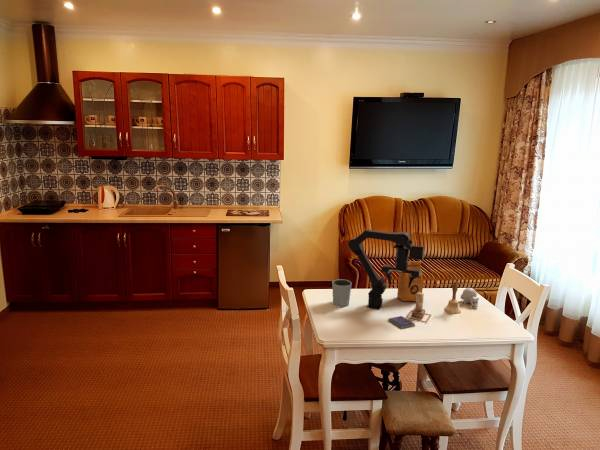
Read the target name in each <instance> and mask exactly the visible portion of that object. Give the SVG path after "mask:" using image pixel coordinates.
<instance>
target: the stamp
mask: <svg viewBox="0 0 600 450" xmlns="http://www.w3.org/2000/svg"><path fill="white" fill-rule="evenodd" d="M424 295H425V293H423V292H422V293H421V292H418V293H417V296H416V301H415V307H414V308H413V309H411V310H412V315H411V316H412V317H415V318H419V319H422V318H423V317H424V315H425V313H426V309H423V306H424V297H425V296H424Z"/></svg>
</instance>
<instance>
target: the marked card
mask: <svg viewBox="0 0 600 450" xmlns="http://www.w3.org/2000/svg"><path fill="white" fill-rule="evenodd" d="M412 310H413V309H409V310H408V311H407V313H406V314H405V316H403V317H404V318H406V319H407V320H409V321H411V320H412V321H415V322H420V323H424V324H427V325H428V324H429V322H430V321H431V320H432V318H433V317H434V315H433V314H431V313H426V312H425V315H424V317H423V318H422V319H419V318H415V317H412V316H411V315H412Z"/></svg>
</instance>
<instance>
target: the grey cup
mask: <svg viewBox="0 0 600 450" xmlns="http://www.w3.org/2000/svg"><path fill="white" fill-rule="evenodd" d="M331 285H332V287H331V288H332V304H333V306H335V305H336V307H338V306H339V307H340V308H346V307H348V306H350V299H351V298H350V296H351V290H352V282H351V280H348V279H343V278H341V279H340V278H339V279H335V280H332V282H331Z"/></svg>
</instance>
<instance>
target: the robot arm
mask: <svg viewBox="0 0 600 450" xmlns="http://www.w3.org/2000/svg"><path fill="white" fill-rule="evenodd" d="M367 239H374V240H381V241H388V242H392V243H394V245H393V246H392V248H393V249H396V255H395V256H396V257H395V259H394V264H395V267H392V264H387V263H385V264H383V265H382V266H381V271H380V272H382V273H383V274H384V275H386V278H387V281H388V283H389V286H392V281H393V280H392V272H396V273H400V272H402V273H409V274H411V276H410V280H409V285H408V288H410V285H411V283H412V281H413V279H414V278H415V279H416V278H417V277H419V276H420V274H421V272H422V269H421V270H420V269H415V268H413V269H412V270H408V264H409V262H408V261H409V257H410V258H411V259H412V260H418V261H423V260H424V256H425V246H424V245H416V244H415V245H414V242H413V241H412V240H411V235H410V233H408V232H407V231H397V232H389V231H380V230H375V229H369V228H367V229H364V230H363V231H362V233H361V234H360V235H358V236H354V237H352V238H351V239H349V241H348V243H347V246H348V249H349V250H350V251H351V252H352V253H353V254H354V255H355V256H356V257H357V258H358V260H359V262H360V264H361V266H362V268H363V270H364V271H365V272H366V275H367V277H368V278H369V281H370V285H371V289H370V291H369V292H368V302H367V306H366V307H367V308H369V309H374V310H375V309H376V310H380V309H381V308H382V306H383V300H384V299H383V294H384V293H385V291H386V289H387V287H388V286H387V281H385V278H384V276H381V277H380V275H378V273H377V271H376V270H375V268H374V266H373V265H372V262H371V261H370V259H369V257H368V256H367V254H366V252H365V247H364V241H365V240H367Z"/></svg>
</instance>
